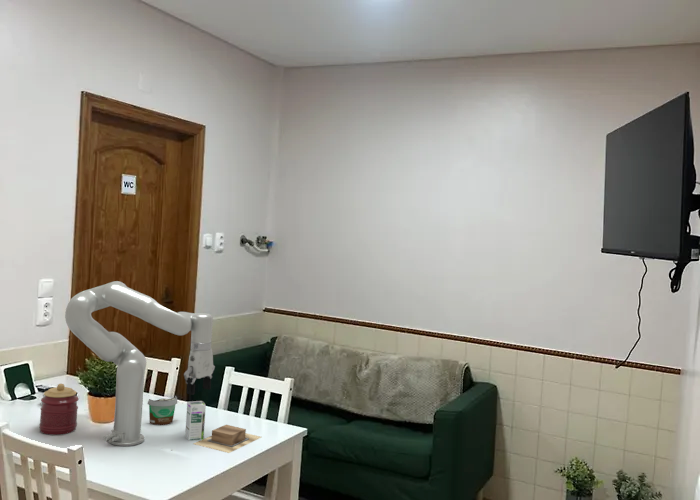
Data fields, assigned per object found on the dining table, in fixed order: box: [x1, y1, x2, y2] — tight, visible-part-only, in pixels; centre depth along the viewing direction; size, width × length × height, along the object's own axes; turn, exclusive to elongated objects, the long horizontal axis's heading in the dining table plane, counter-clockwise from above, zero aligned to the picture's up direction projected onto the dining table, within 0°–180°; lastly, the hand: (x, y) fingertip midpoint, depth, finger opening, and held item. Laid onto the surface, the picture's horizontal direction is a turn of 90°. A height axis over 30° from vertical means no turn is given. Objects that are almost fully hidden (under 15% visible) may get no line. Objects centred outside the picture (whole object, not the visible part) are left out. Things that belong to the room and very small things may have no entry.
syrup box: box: [184, 400, 207, 441], centre depth 242 cm, size 6×6×14 cm
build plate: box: [192, 433, 262, 454], centre depth 242 cm, size 22×16×2 cm
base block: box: [211, 424, 247, 446], centre depth 242 cm, size 9×9×4 cm
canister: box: [38, 383, 79, 436], centre depth 242 cm, size 13×13×18 cm
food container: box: [147, 395, 178, 426], centre depth 260 cm, size 12×6×10 cm, turn 131°
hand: (198, 391), depth 242 cm, fingers open, 9 cm apart
